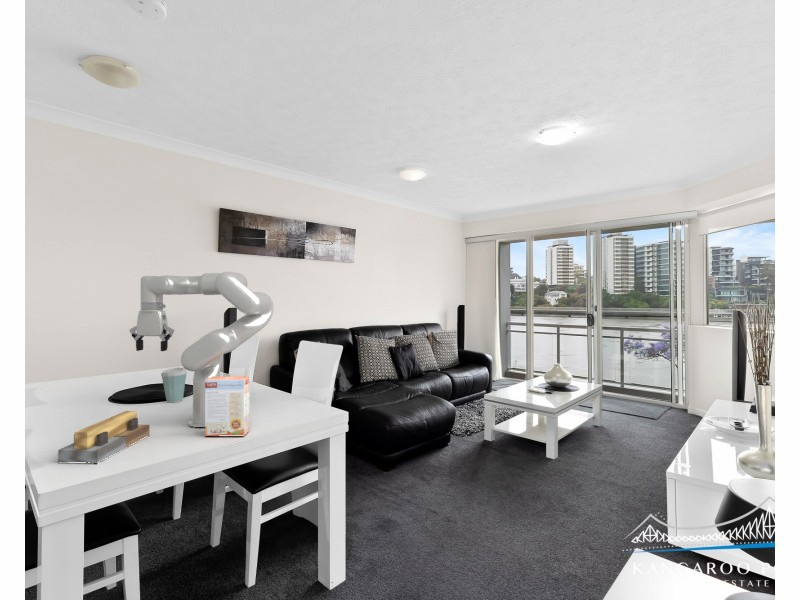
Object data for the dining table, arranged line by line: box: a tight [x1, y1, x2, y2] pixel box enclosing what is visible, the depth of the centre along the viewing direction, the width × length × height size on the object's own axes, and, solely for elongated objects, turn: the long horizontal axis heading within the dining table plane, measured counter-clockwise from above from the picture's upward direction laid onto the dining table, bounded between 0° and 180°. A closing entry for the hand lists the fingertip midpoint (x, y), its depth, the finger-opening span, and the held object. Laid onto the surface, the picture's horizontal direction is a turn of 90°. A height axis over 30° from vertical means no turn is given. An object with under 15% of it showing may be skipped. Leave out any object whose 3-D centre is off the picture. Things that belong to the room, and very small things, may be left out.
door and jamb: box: [57, 417, 151, 463], centre depth 133 cm, size 12×24×8 cm, turn 178°
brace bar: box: [73, 410, 138, 449], centre depth 133 cm, size 4×22×5 cm, turn 178°
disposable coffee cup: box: [160, 367, 188, 403], centre depth 190 cm, size 11×11×15 cm
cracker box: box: [204, 376, 250, 436], centre depth 147 cm, size 14×6×21 cm, turn 92°
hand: (151, 350), depth 160 cm, fingers open, 9 cm apart
